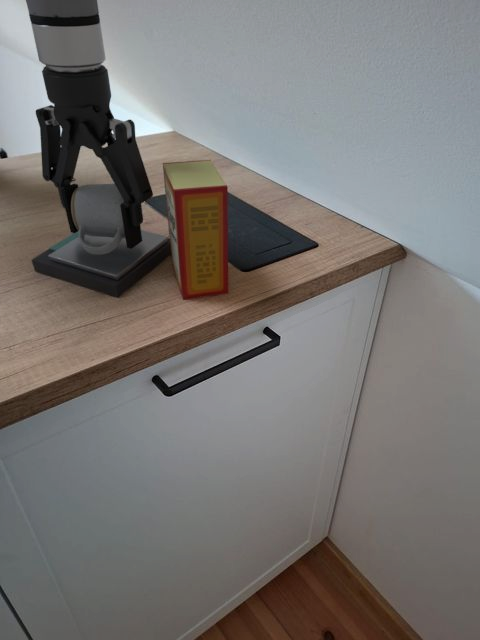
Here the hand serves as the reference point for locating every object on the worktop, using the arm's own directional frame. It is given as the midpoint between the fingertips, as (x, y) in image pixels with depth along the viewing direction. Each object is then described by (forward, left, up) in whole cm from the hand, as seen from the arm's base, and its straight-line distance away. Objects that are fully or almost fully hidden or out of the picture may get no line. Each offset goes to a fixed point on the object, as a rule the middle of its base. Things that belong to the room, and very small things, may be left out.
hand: (106, 236), depth 73 cm
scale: (-1, 0, -4) cm, 4 cm away
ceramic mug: (+1, 0, 0) cm, 1 cm away
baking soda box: (+14, +2, -4) cm, 15 cm away
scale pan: (0, 0, -2) cm, 2 cm away
